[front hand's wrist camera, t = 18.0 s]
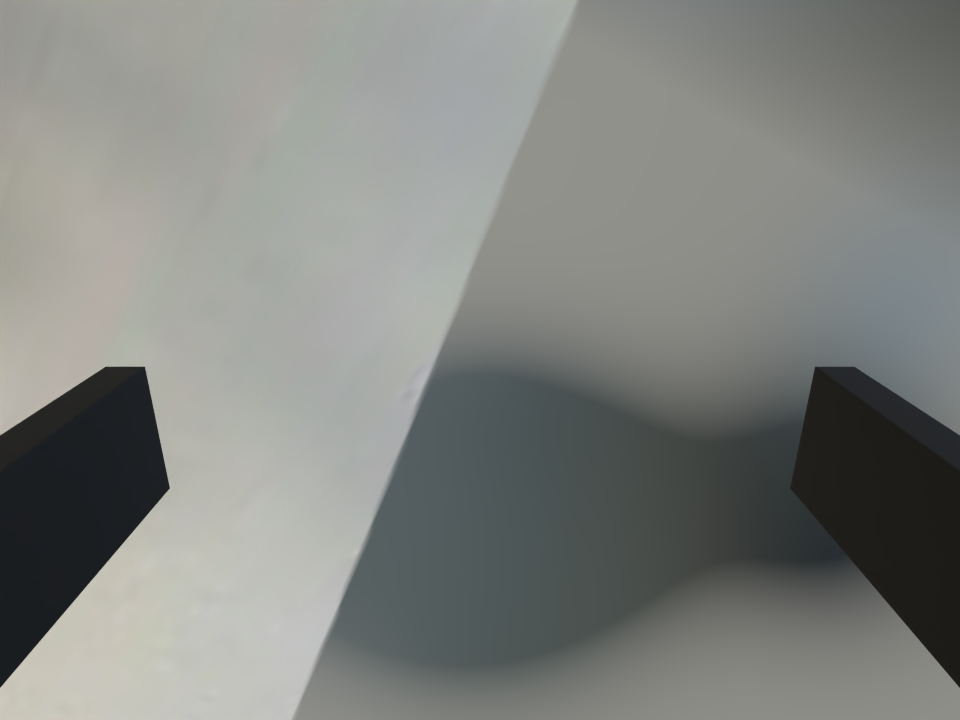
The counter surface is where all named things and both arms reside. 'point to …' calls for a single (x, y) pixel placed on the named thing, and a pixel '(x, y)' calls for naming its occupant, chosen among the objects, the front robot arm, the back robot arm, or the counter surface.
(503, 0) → the counter surface
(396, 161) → the counter surface
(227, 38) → the counter surface
